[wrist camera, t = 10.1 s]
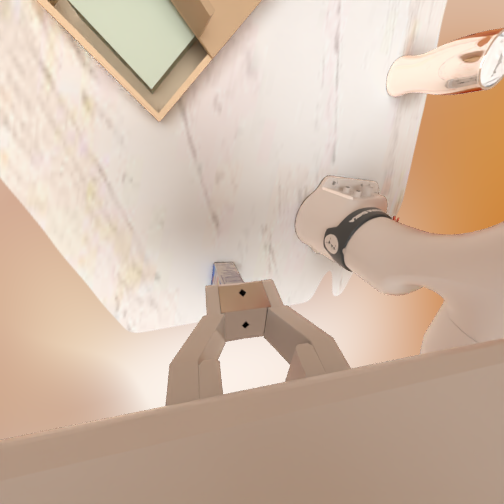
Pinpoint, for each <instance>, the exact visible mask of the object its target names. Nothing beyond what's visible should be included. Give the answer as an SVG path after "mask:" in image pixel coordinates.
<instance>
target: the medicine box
mask: <svg viewBox="0 0 504 504" xmlns="http://www.w3.org/2000/svg"><path fill="white" fill-rule="evenodd" d="M242 282H244V281H243V279H242V278H241V276H240V274H239V272H238V271H237V269H236V267H235V265H234V263H233V262H229V263H214V266H213V275H212V283H211V285H218V284H232V283H242Z"/></svg>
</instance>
